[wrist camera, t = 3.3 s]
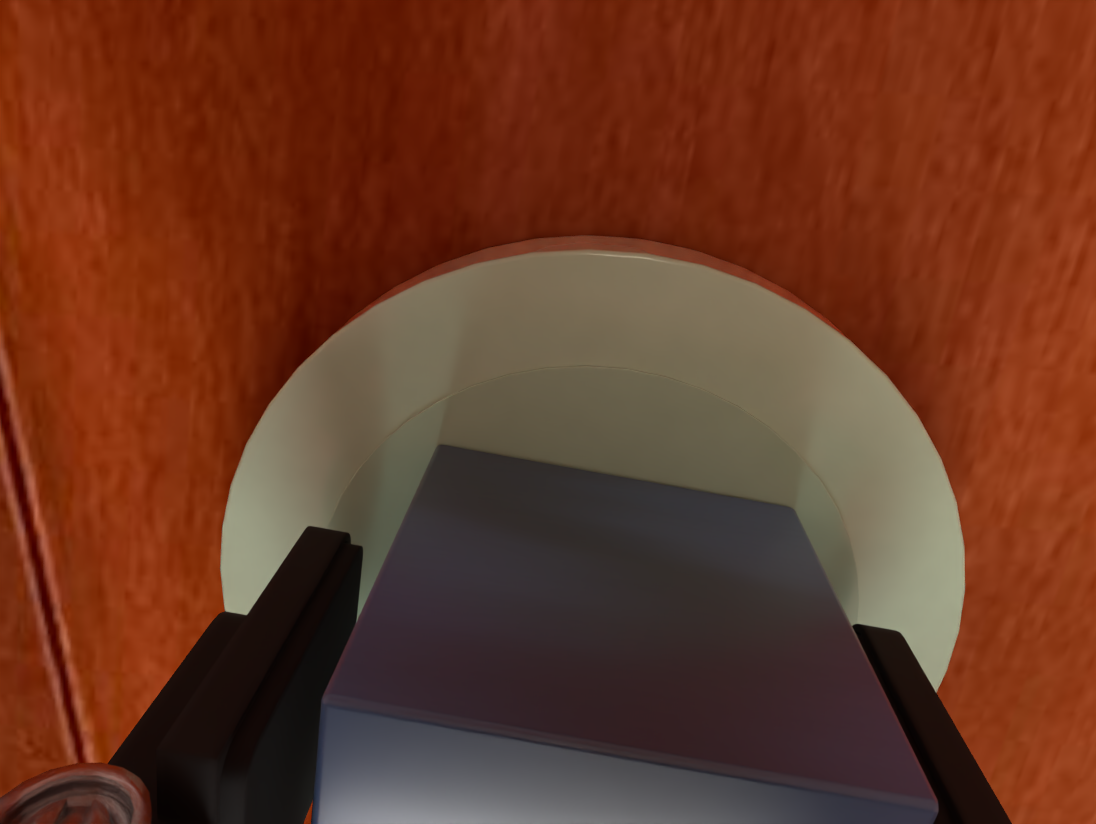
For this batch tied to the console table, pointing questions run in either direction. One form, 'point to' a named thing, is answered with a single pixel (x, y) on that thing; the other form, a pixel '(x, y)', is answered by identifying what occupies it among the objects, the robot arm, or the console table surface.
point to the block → (604, 665)
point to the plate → (609, 417)
